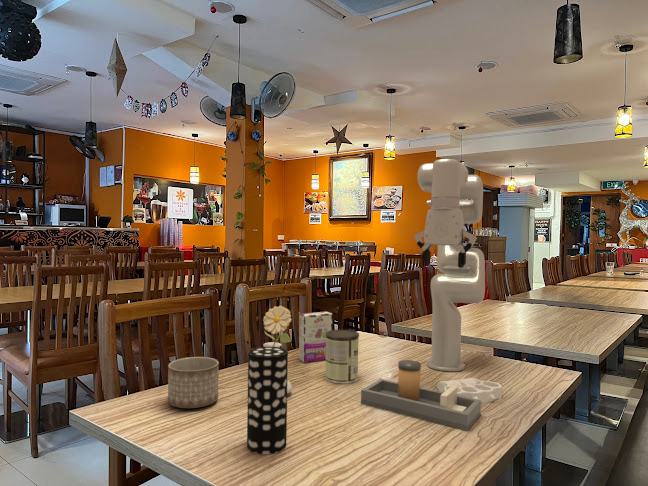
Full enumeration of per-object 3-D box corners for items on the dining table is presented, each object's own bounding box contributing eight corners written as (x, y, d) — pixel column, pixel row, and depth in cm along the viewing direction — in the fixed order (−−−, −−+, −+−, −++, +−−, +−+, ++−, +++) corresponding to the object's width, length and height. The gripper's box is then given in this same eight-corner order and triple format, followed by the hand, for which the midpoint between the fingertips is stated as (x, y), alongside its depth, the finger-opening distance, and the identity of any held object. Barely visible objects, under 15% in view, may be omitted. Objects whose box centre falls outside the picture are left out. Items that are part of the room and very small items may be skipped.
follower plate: (451, 404, 120) (451, 385, 120) (468, 408, 117) (469, 389, 117) (439, 415, 113) (440, 395, 113) (458, 420, 110) (458, 399, 110)
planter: (167, 397, 125) (167, 358, 125) (215, 392, 130) (215, 355, 129) (168, 415, 114) (168, 372, 113) (221, 409, 118) (221, 368, 118)
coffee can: (326, 372, 149) (327, 328, 149) (358, 374, 148) (359, 330, 148) (323, 383, 139) (323, 336, 138) (357, 384, 138) (358, 337, 137)
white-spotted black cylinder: (248, 436, 103) (249, 346, 102) (286, 435, 103) (287, 346, 103) (245, 454, 94) (246, 357, 94) (286, 454, 95) (288, 357, 94)
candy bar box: (326, 356, 168) (326, 311, 168) (332, 359, 164) (333, 313, 163) (297, 359, 163) (298, 313, 163) (303, 363, 159) (304, 315, 158)
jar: (402, 396, 126) (403, 358, 125) (423, 400, 123) (424, 362, 122) (393, 402, 121) (394, 363, 121) (414, 407, 118) (415, 367, 117)
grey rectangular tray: (380, 391, 133) (380, 378, 132) (480, 414, 117) (480, 400, 117) (360, 403, 123) (361, 389, 123) (467, 430, 108) (467, 414, 108)
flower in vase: (242, 393, 129) (243, 303, 128) (273, 383, 137) (274, 299, 137) (273, 406, 120) (274, 310, 119) (304, 395, 128) (306, 305, 128)
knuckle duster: (477, 385, 141) (513, 402, 127) (427, 391, 134) (459, 410, 121) (478, 374, 141) (513, 390, 127) (427, 380, 134) (459, 397, 121)
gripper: (410, 204, 130) (409, 265, 131) (473, 203, 121) (471, 269, 121) (420, 205, 137) (419, 263, 137) (480, 204, 127) (479, 267, 128)
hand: (443, 266), depth 129 cm, fingers open, 9 cm apart
